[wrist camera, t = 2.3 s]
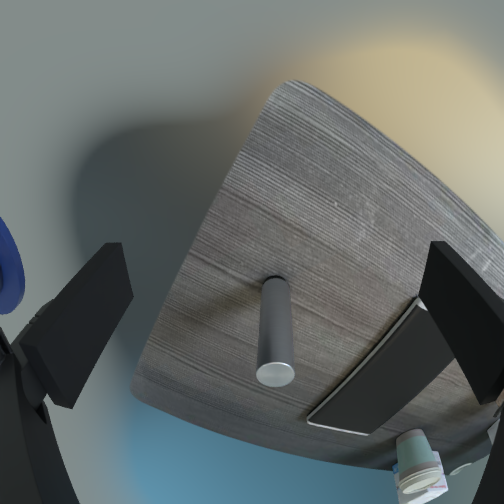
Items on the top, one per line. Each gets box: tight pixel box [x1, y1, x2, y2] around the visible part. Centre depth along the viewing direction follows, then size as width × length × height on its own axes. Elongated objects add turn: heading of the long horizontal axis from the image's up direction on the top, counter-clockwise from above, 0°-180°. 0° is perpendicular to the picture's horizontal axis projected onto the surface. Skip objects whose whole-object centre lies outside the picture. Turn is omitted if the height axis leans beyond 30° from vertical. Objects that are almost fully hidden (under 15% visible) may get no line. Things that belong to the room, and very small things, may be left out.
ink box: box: [392, 451, 448, 504], centre depth 50 cm, size 8×8×12 cm
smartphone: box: [307, 298, 455, 435], centre depth 41 cm, size 13×27×2 cm, turn 155°
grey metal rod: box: [256, 276, 295, 387], centre depth 29 cm, size 3×3×13 cm
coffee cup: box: [396, 429, 442, 494], centre depth 45 cm, size 9×9×12 cm
